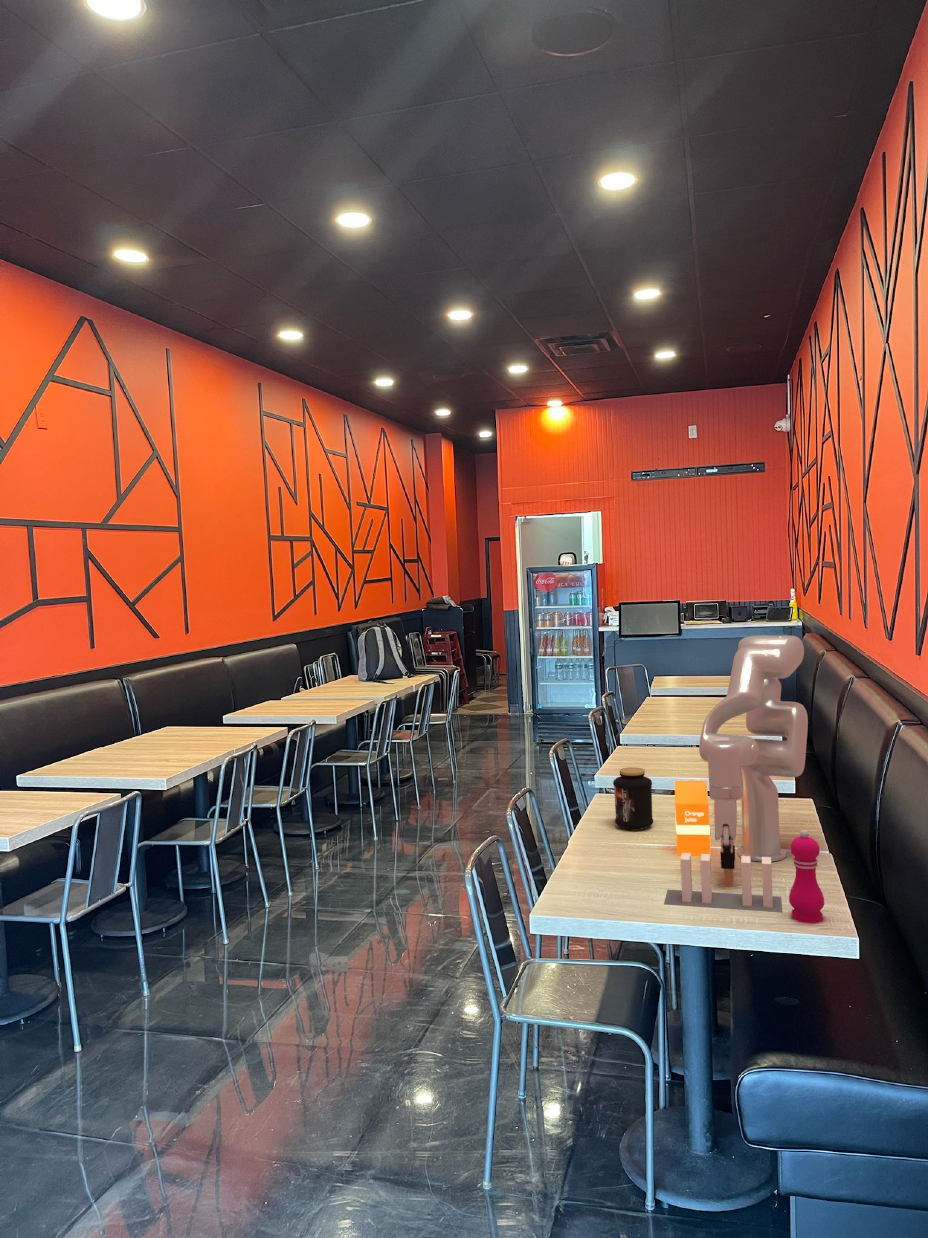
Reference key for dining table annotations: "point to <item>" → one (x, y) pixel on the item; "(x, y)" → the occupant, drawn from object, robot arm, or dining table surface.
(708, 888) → the domino
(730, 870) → the domino
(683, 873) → the domino
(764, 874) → the domino
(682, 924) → the dining table surface
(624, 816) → the container
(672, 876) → the dining table surface
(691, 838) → the orange juice
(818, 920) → the pepper mill
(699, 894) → the mat
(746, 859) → the domino
